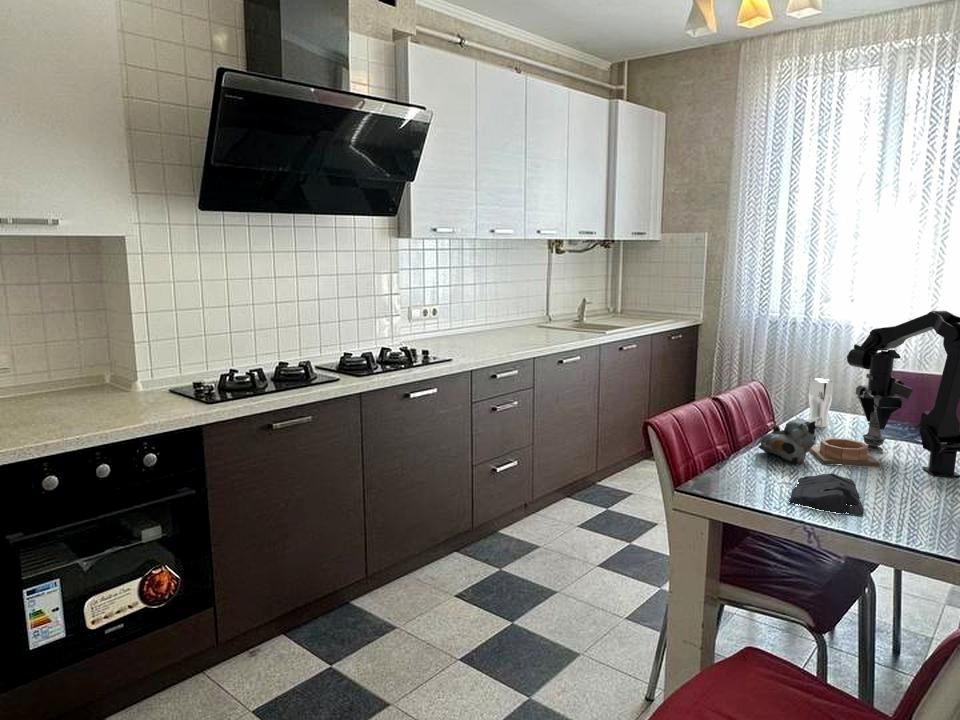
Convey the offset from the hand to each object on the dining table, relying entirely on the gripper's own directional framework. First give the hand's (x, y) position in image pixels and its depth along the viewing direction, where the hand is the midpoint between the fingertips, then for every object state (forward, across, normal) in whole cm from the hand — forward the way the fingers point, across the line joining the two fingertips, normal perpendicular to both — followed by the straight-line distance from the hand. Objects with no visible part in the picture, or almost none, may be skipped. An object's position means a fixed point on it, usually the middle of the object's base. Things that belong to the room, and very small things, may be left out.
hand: (875, 425), depth 202 cm
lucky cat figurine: (+7, -15, +28) cm, 32 cm away
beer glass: (+7, +27, +7) cm, 29 cm away
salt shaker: (+7, 0, 0) cm, 7 cm away
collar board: (+7, -12, +12) cm, 18 cm away
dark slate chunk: (+8, -46, +26) cm, 53 cm away
